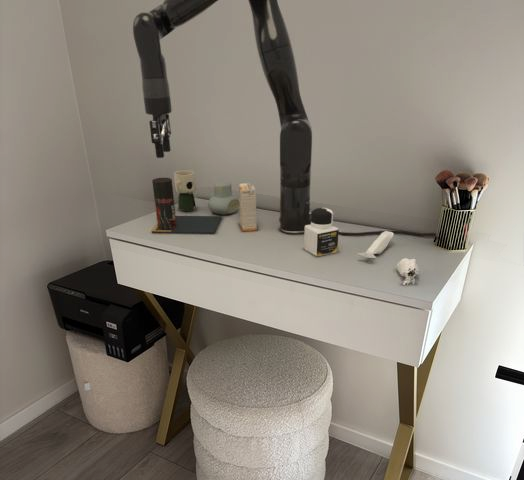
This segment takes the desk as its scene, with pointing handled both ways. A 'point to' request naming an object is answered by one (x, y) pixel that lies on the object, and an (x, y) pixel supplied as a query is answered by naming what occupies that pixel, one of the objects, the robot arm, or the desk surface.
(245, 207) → the supplement box
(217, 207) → the grey green rounded piece
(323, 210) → the medicine bottle
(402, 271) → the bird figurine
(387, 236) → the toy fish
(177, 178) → the character mug
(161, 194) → the deodorant
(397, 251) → the desk surface
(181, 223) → the mat
